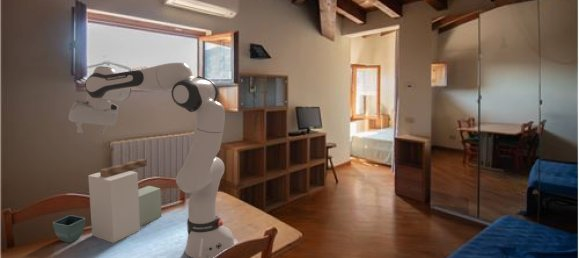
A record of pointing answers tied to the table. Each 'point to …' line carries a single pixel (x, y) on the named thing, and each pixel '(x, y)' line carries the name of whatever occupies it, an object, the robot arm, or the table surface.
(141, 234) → the table surface
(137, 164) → the walnut bar
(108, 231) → the tall white pillar
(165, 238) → the table surface
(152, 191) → the step
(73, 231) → the flower pot
